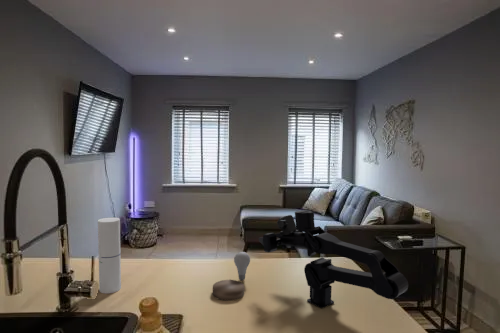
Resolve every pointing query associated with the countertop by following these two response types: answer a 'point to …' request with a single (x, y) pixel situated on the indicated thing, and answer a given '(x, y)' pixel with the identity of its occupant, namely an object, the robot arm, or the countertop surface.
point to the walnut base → (228, 290)
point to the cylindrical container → (109, 255)
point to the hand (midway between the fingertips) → (267, 237)
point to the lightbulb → (241, 264)
